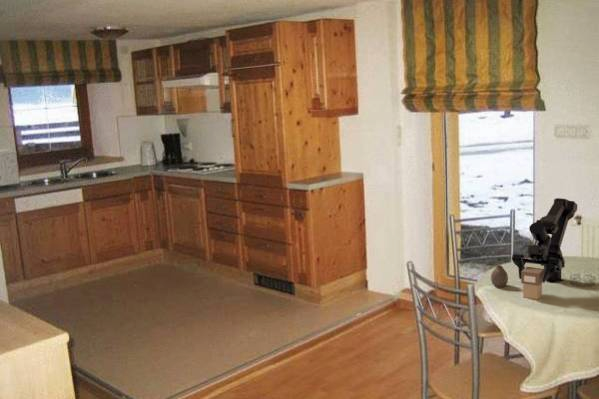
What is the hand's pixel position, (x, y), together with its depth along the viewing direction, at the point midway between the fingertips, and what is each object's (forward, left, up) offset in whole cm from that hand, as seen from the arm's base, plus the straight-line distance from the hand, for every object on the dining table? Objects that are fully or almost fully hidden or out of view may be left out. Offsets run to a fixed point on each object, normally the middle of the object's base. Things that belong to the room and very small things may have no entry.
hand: (531, 280), depth 253 cm
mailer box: (-1, -1, -7) cm, 7 cm away
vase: (+5, -17, -7) cm, 19 cm away
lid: (-1, -1, -1) cm, 2 cm away
